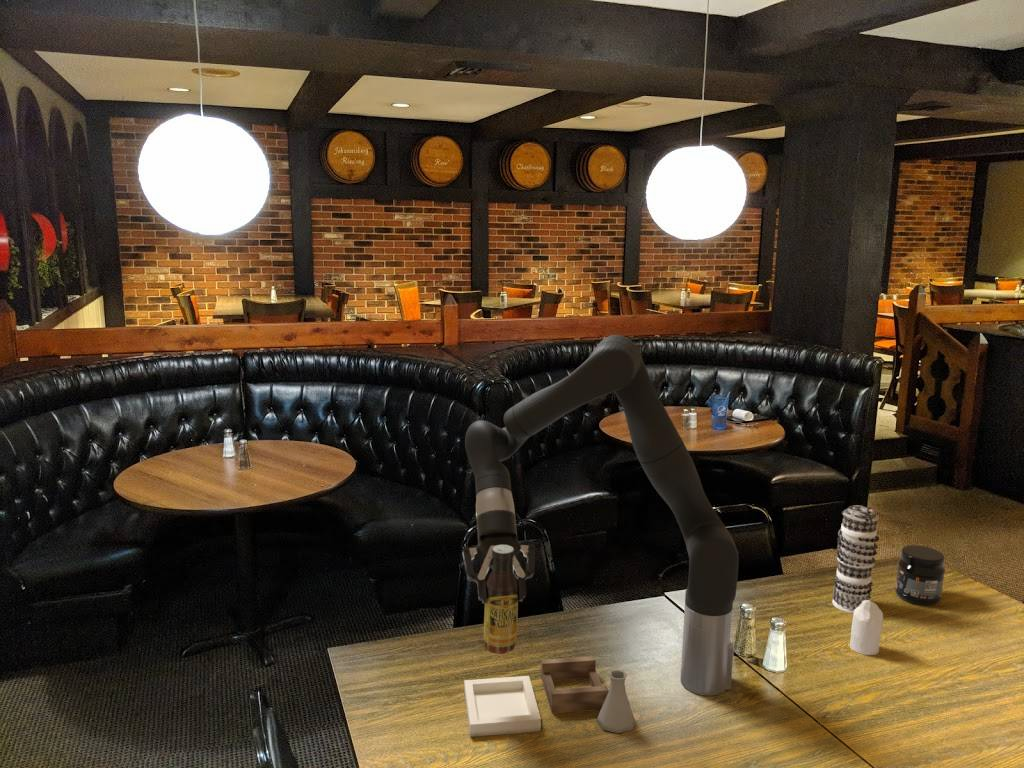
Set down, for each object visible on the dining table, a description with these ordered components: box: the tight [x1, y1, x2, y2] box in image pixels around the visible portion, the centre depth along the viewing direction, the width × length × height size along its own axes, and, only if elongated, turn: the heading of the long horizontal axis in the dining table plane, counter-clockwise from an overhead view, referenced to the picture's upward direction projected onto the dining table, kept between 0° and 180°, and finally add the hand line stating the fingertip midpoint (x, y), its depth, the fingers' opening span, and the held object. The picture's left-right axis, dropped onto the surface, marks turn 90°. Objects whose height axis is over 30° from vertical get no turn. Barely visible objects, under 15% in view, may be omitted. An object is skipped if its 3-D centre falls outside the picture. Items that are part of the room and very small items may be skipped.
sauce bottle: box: [483, 545, 519, 655], centre depth 147 cm, size 7×6×20 cm
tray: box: [463, 675, 542, 738], centre depth 152 cm, size 13×14×2 cm
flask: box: [596, 669, 636, 734], centre depth 148 cm, size 7×7×10 cm
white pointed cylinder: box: [849, 599, 884, 656], centre depth 173 cm, size 6×12×6 cm
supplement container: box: [894, 544, 946, 607], centre depth 197 cm, size 10×10×12 cm
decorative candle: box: [832, 504, 880, 615], centre depth 191 cm, size 9×9×25 cm
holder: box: [540, 655, 609, 714], centre depth 157 cm, size 11×12×4 cm
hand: (502, 601), depth 145 cm, fingers closed on sauce bottle, 6 cm apart
